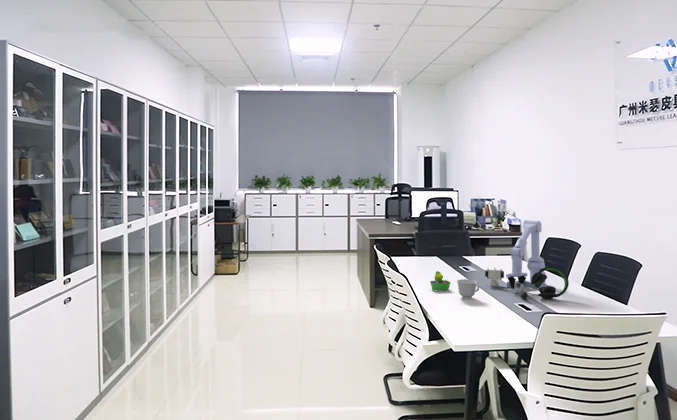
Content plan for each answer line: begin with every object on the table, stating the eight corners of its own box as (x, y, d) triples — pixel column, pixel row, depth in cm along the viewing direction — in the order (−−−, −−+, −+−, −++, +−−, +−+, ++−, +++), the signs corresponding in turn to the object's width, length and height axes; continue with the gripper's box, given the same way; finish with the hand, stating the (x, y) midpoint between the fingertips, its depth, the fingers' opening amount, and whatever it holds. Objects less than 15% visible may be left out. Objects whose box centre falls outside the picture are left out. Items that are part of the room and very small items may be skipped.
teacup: (471, 302, 276) (471, 285, 275) (452, 297, 288) (452, 280, 288) (485, 299, 282) (485, 283, 281) (466, 294, 295) (466, 278, 294)
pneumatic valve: (503, 287, 314) (504, 268, 313) (484, 285, 317) (485, 267, 316) (503, 285, 319) (504, 267, 318) (485, 284, 323) (485, 266, 322)
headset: (528, 312, 286) (572, 289, 285) (531, 308, 274) (577, 284, 273) (511, 286, 294) (554, 263, 293) (513, 281, 281) (558, 257, 280)
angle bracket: (522, 293, 298) (523, 283, 297) (514, 294, 296) (515, 284, 295) (512, 289, 307) (512, 280, 307) (504, 290, 305) (504, 281, 305)
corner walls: (524, 285, 318) (524, 280, 318) (540, 290, 304) (541, 285, 304) (506, 287, 314) (506, 281, 314) (522, 292, 300) (522, 286, 299)
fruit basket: (434, 291, 303) (434, 273, 302) (428, 288, 312) (428, 270, 311) (451, 290, 305) (451, 272, 304) (445, 287, 314) (445, 270, 313)
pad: (523, 286, 315) (523, 286, 315) (536, 290, 303) (536, 290, 303) (509, 287, 311) (509, 287, 311) (522, 292, 300) (522, 291, 300)
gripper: (511, 268, 295) (511, 290, 296) (531, 267, 299) (530, 288, 300) (504, 266, 301) (503, 288, 302) (523, 265, 306) (522, 286, 307)
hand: (516, 288), depth 302 cm, fingers open, 5 cm apart
